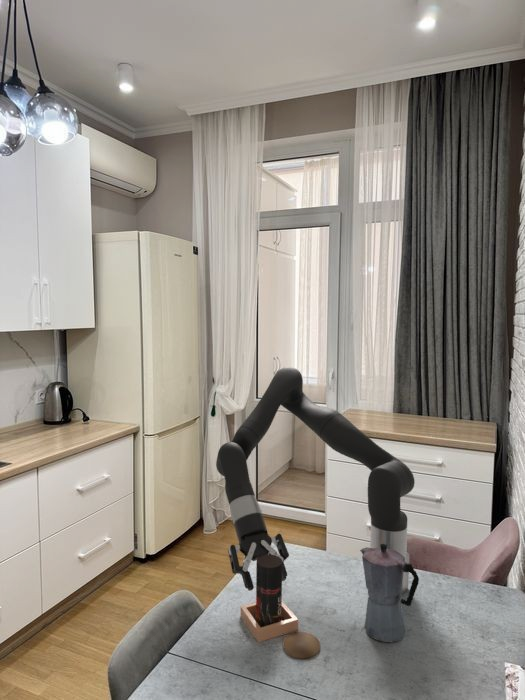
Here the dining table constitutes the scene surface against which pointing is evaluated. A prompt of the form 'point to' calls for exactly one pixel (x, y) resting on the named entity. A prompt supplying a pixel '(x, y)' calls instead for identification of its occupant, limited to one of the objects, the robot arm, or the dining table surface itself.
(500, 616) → the dining table surface
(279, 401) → the robot arm
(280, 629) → the orange square frame
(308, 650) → the coaster
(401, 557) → the moka pot
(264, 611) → the deodorant
